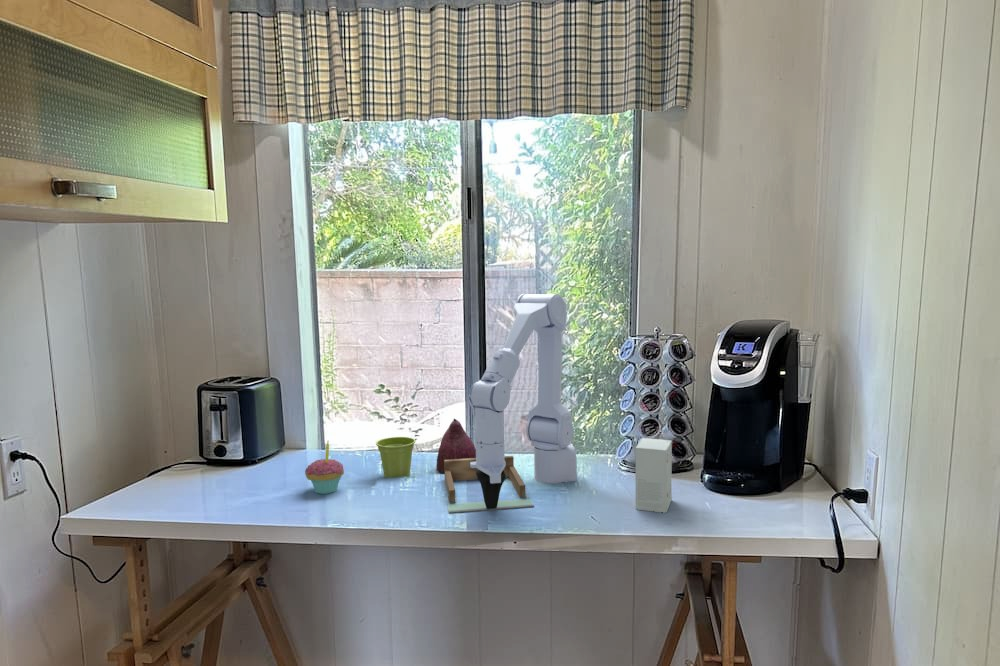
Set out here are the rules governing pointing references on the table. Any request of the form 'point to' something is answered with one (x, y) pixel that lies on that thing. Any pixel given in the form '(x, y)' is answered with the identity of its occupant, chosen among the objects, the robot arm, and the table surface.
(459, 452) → the vegetable
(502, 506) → the green board
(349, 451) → the table surface
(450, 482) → the cart bed
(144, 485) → the table surface
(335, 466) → the cupcake
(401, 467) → the plant pot
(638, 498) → the small box
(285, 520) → the table surface
